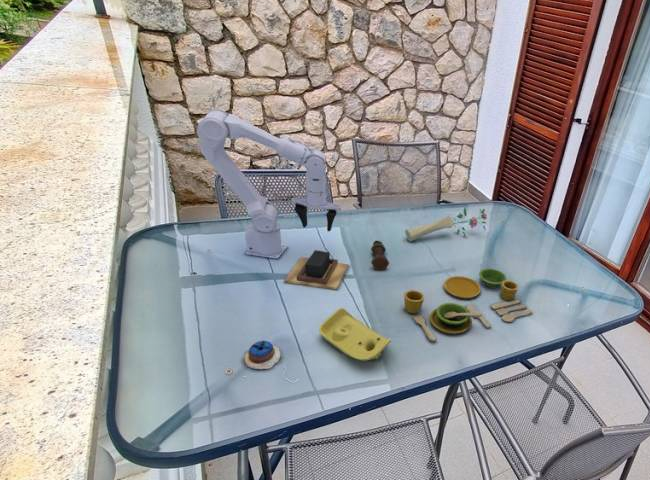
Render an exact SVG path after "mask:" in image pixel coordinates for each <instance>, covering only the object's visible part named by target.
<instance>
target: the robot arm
mask: <svg viewBox="0 0 650 480" xmlns="http://www.w3.org/2000/svg"><path fill="white" fill-rule="evenodd" d="M196 134H197V136H198V141H199V148H200V152H201V154H202V156H203V157H204V158H205V159H206V160H207V161H208V163H209V164H210V165H211V167H212V168H213V169H214V170H215V171H216V172H217V174H218V175H219V176H220V178H222V179H223V181H224V182H225V183H226V184H227V186H228V187H229V188H230V189H231V190H232V191H233V193H234V194H235V195H236V196H237V197H238V199H239V200H240V201H241V202H242V204H243V205H244V206H245V209H246V212H247V216H248V217H249V218H250V219H251V220H252V223H249V224H248V225H247V226H246V228H245V232H244V237H245V245H246V255H249V256H255V257H261V258H269V259H276V260H277V259H279V258H280V257H281V255H282V254H283V253H284V252H285V250H286V249H287V247H288V246H286V245H282V235H281V226H280V224H279V222H278V216H279V214H280V212H279V209H278V207H277V206H276V205H275V204H274V203H272V202H270V201H269V200H268V199H267V198H266V197H265V196H262V195H261V194H260V193H259V191H257V189H256V188H255V187H254V185H253V184H252V183H251V181H250V180H249V179H248V178H247V176H246V175H245V174H244V172H242V170H241V169H240V167H239V166H238V165H237V163H236V162H235V161H234V160H233V159H232V157H231V156H230V155H229V153H228V151H226V150H225V145H226V141H227V138H228V136H229V139H230V140H236V139H242V138H244V139H247V140H250V141H253V142H255V143H258V144H260V145H263V146H265V147H268V148H270V149H273V150H275V151H276V153H277V155H278V156H279V157H282V158H284V159H286V160H288V161H290V162H293V163H295V164H297V165H299V166H303V167H304V168H305V170H306V171H305V172H306V173H305V193H306V196H305V197H295V196H294V197H292V198H291V206H295V207H294V212H295V213H296V214H297V216H298V218H299V220H300V222H301V225H302V228H303V229H304V228H306V227H307V226H308V208H309V209H310V208H311V209H314V210H315V209H316V210H324V211H327V212H326V213H325V216H326V222H327V225H326V227H327V228H326V231H327V232H331V230H332V228H333V223H334V220H335V218H336V216H337V214H340V213H341V211H342V205H341V204H337V203H334V202H332V201H331V202H330V201H327V176H326V169H327V165H326V164H327V159H326V155H325V154H324V152H323V151H322V150H320V149H318V148H316V147H312V146H306V145H304V144H301V143H299V142H297V141H296V138H293V137H292V136H291V137H290V138H288V137H286V136H285V137H281V138H279V137H277V136H275V135H274V134H271V133H269V132H267V131H265V130H263V129H261V128H260V127H258V126H255V125H253V124H251V123H250V122H248V121H245V120H243V119H242V118H240V117H238V116H237V115H236V114H232V113H228V112H227V111H225V110H223V109H219V108H212V109H210V110H209V111H207V113H206V115H205V116H204V117H203V118H202V119H201V120H200V122H199V123H198V126H197V129H196Z"/></svg>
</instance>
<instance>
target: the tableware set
mask: <svg viewBox="0 0 650 480" xmlns="http://www.w3.org/2000/svg"><path fill="white" fill-rule="evenodd" d="M505 274H506V273H505ZM505 274H504V273H503V272H502V271H500V270H498V269H495V268H482V269H480V271H479V273H478V275H479V278H480V279H481V282H482V284H483V285H484V286H485V287H488V288H491V289H496V288H499V287H500V286H501V287H500V288H501V289H500V298H502V299H503V300H506V301H501V302H496V303H493V304H491V306H490V307H491V309H492V310H493V311H495V313H497V314H498V315H499V316H501V317H502V320H503V321H504V322H506V323H512V322H514V320H515V319H517V318H521V317H526V316H530V315H531V314H532V313H533V312H532V310H531V309H527V305H526V304H521V300H520V299H515V300H514V298H515V296H516V294H517V292H518V290H519V287H520V286H519V284H518V283H516V282H515V281H513V280H507V276H506V275H505ZM443 287H444V289H445V291H446V292H447V293H448V294H449V295H451V296H452V297H453V296H454V297H455V298H459V299H472V298H475V297H477V296H478V295H480V294H481V291H482V288H481V286H480V284H479V283H478V282H477V281H475V280H474V279H472V278H470V277H467V276H463V275H462V276H461V275H456V276H455V275H454V276H451V277H447V278H446V279H445V280H444V281H443ZM403 297H404V298H403V301H404V309H405V311H406V312H407V313H409V314H418V313H419V312H420V311H421V309H422V306H423V303H424V301H425V293H423V292H422V291H419V290H416V289H410V290H407V291H405V292H404V295H403ZM507 301H509V302H507ZM519 304H520V305H519ZM515 305H517V306H515ZM512 306H513V307H512ZM508 307H509V308H508ZM521 310H523V311H521ZM516 311H520V312H517V313H515V314H509V313H512V312H516ZM412 318H413V320H414V322H415V323H416V324H417V325H419V326H421V328H422V330H423V332H424V333H425V335H426V337H427V339H428V341H430V342H432V343H433V342H435V341H436V336H435V335H434V334H433V333H432V331H431V330H430V329H429V327H428V326H427V325H426V319H425V318H424V316H423V315H421V314H420V315H417V316H413V317H412ZM473 318H474V319H478V320H479V321H480V322H481V323H482V325H483V326H484V327H485V328H486V329H490V328H491V325H490V323H489V322H488V320H486V319H485V318H484V316H483V313H482V312H481V311H478V310H477V309H476V308H475V307H474V306H473V304H467V305H466V306H463V305H462V304H460V303H455V302H445V303H442V304H440V305H439V306H437V307H436V308H435V309H433V310H432V311H431V312H430V315H429V320H430V323H431V325H432V326H433V327H434V328H435V329H437V330H439V331H440V332H442V333H446V334H451V335H456V334H462V333H464V332H467V330H469V329H471V327H472V325H473Z"/></svg>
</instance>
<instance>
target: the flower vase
mask: <svg viewBox="0 0 650 480" xmlns="http://www.w3.org/2000/svg"><path fill="white" fill-rule="evenodd" d="M485 209H486V208H485V207H484V208H483V209H481V208H479V217H475V216H472V217H471V218H469V219H468V223H469V224H468V225H469V226H470V228H471V229H474V228H477V227H476V226H477V225H478V220H479V219H482V220H487V215H488V214H486V213H485V211H486V210H485ZM467 215H468V214H467V209H466V207H464V208H463V213H461V212H459V213H458V215H456V218H458V221H457V220H456V218H455V217H454V218H453V219H452V216H451V214H449V215H447V216H446V217H443V218H441V219H439V220H435V221H434V222H430V223H428V224H424V225H419V226H417V227H416V226H415V227H413V228H408V229H405V231H404V234H405V236H406V239H407V241H409V243H411V242H413V241H415V240H418V239H419V238H422V237H424V236H426V235H429V234H431V233H434V232H437V231H440V230H444V229H451V228H453V227H455V228H457V226H456V225H457V224H463V223H467V220H463V219H464V217H467ZM460 219H462V220H461V221H459V220H460ZM482 224H487V222H486V221H481V223H479V225H480V226H482V227H483V229H484V230H486V226H485V225H482ZM460 231H462V234H463V236H464V238H466V232H465V231H466V229H465V226H462V227H460V226H459V228H458V229H457V230H456V234H459V233H460Z"/></svg>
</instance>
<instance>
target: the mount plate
mask: <svg viewBox="0 0 650 480" xmlns="http://www.w3.org/2000/svg"><path fill="white" fill-rule="evenodd" d="M310 257H311V255H310V256H309V257H304V256H300V258H299V259H298V260H297V262H296V264H295V265H294V266H293V268H292V269H291V270H290V271H289V273H288V275H287V276H286V277H285V279H284V283H287V284H293V285H301V286H308V287H314V288H321V289H328V290H338V288H339V286H340V284H341V282H342V280H343V278H344V276H345V274H346V273H347V270H348V268H349V264H348V263H342V262H339V260H338V259H337V258H330V266H329V268H328V269H327V271H326V273H325V274H324V276H323V278H316V277H309V276H306V268H305V264H306V263H307V261H308V260H309V258H310Z"/></svg>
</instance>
